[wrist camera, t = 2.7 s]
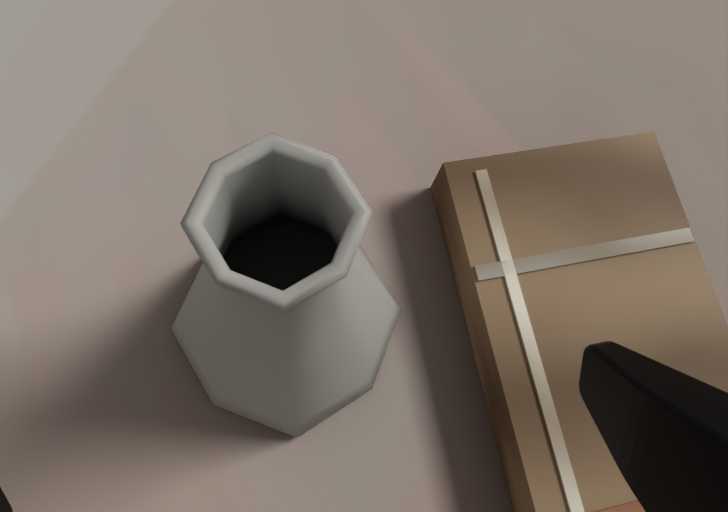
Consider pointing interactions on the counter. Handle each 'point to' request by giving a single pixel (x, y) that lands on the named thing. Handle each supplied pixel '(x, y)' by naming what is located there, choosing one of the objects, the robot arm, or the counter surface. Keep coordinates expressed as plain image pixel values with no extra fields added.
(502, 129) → the counter surface
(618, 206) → the walnut board
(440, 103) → the counter surface
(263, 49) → the counter surface
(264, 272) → the flask
